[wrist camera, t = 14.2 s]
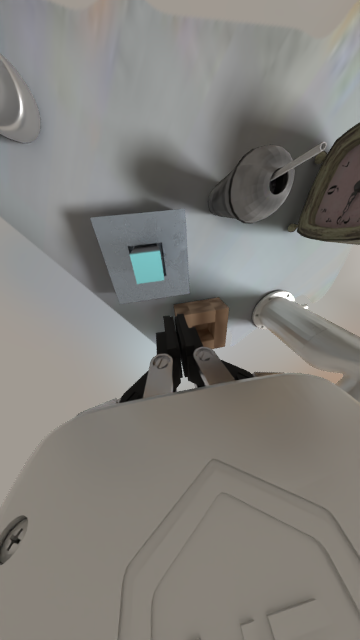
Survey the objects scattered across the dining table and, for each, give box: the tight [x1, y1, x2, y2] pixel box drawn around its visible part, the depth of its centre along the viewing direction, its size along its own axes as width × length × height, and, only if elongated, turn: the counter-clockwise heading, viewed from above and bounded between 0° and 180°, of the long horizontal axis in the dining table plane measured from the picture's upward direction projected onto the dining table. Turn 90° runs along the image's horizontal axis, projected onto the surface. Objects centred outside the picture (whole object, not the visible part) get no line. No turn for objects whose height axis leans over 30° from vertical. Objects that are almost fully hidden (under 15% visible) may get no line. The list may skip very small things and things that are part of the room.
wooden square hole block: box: [174, 297, 229, 349], centre depth 39 cm, size 12×12×6 cm
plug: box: [130, 243, 164, 284], centre depth 25 cm, size 4×4×11 cm
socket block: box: [90, 209, 190, 304], centre depth 29 cm, size 14×14×6 cm
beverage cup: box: [208, 142, 327, 223], centre depth 20 cm, size 7×7×20 cm
